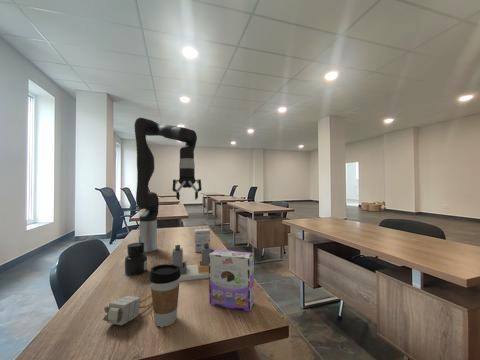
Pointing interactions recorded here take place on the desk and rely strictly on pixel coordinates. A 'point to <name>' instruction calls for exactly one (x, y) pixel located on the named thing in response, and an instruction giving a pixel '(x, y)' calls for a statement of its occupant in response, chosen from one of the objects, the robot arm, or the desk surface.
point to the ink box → (201, 239)
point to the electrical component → (123, 310)
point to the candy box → (231, 279)
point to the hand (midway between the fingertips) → (187, 199)
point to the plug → (205, 254)
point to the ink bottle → (135, 259)
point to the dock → (188, 267)
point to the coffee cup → (165, 293)
